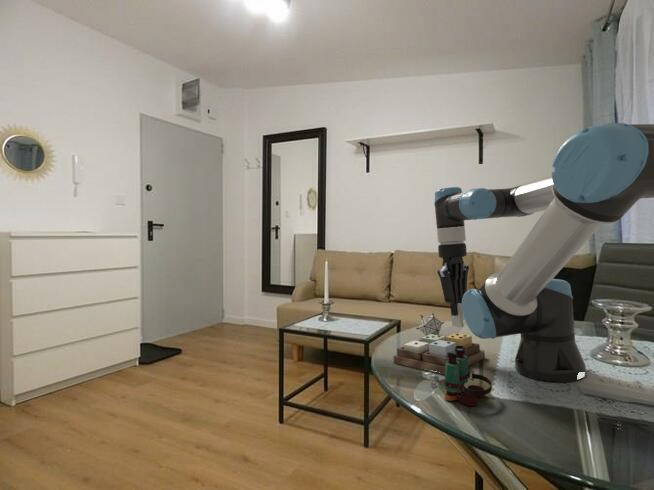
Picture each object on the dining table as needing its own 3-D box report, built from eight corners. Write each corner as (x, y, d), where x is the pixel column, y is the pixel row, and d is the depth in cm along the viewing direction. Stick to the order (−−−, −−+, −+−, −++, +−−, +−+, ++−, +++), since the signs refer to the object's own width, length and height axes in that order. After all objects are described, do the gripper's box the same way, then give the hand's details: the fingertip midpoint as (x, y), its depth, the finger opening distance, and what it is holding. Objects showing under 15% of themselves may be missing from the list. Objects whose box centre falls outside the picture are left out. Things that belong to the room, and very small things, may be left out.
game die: (436, 348, 133) (445, 329, 127) (412, 340, 134) (420, 320, 128) (439, 330, 140) (447, 311, 134) (416, 322, 141) (423, 303, 135)
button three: (445, 346, 115) (445, 335, 114) (436, 350, 111) (435, 339, 111) (431, 343, 118) (430, 333, 118) (422, 347, 115) (421, 337, 115)
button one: (429, 353, 109) (428, 342, 109) (419, 358, 106) (418, 346, 106) (415, 350, 113) (414, 339, 113) (404, 354, 109) (403, 343, 109)
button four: (472, 346, 108) (471, 334, 108) (463, 350, 105) (462, 338, 105) (456, 343, 112) (455, 332, 112) (446, 347, 109) (446, 336, 109)
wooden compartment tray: (484, 357, 108) (483, 343, 108) (450, 376, 96) (449, 360, 96) (430, 347, 122) (429, 335, 121) (393, 362, 110) (392, 349, 110)
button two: (456, 353, 103) (455, 341, 102) (446, 358, 99) (445, 346, 99) (440, 350, 106) (439, 339, 106) (429, 355, 103) (428, 343, 103)
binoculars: (485, 363, 76) (437, 352, 82) (484, 415, 76) (436, 400, 83) (498, 351, 82) (453, 341, 89) (497, 398, 83) (452, 385, 90)
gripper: (452, 242, 115) (457, 320, 115) (426, 245, 107) (433, 329, 107) (475, 241, 110) (481, 323, 110) (451, 244, 101) (457, 333, 101)
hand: (457, 326), depth 108 cm, fingers closed
